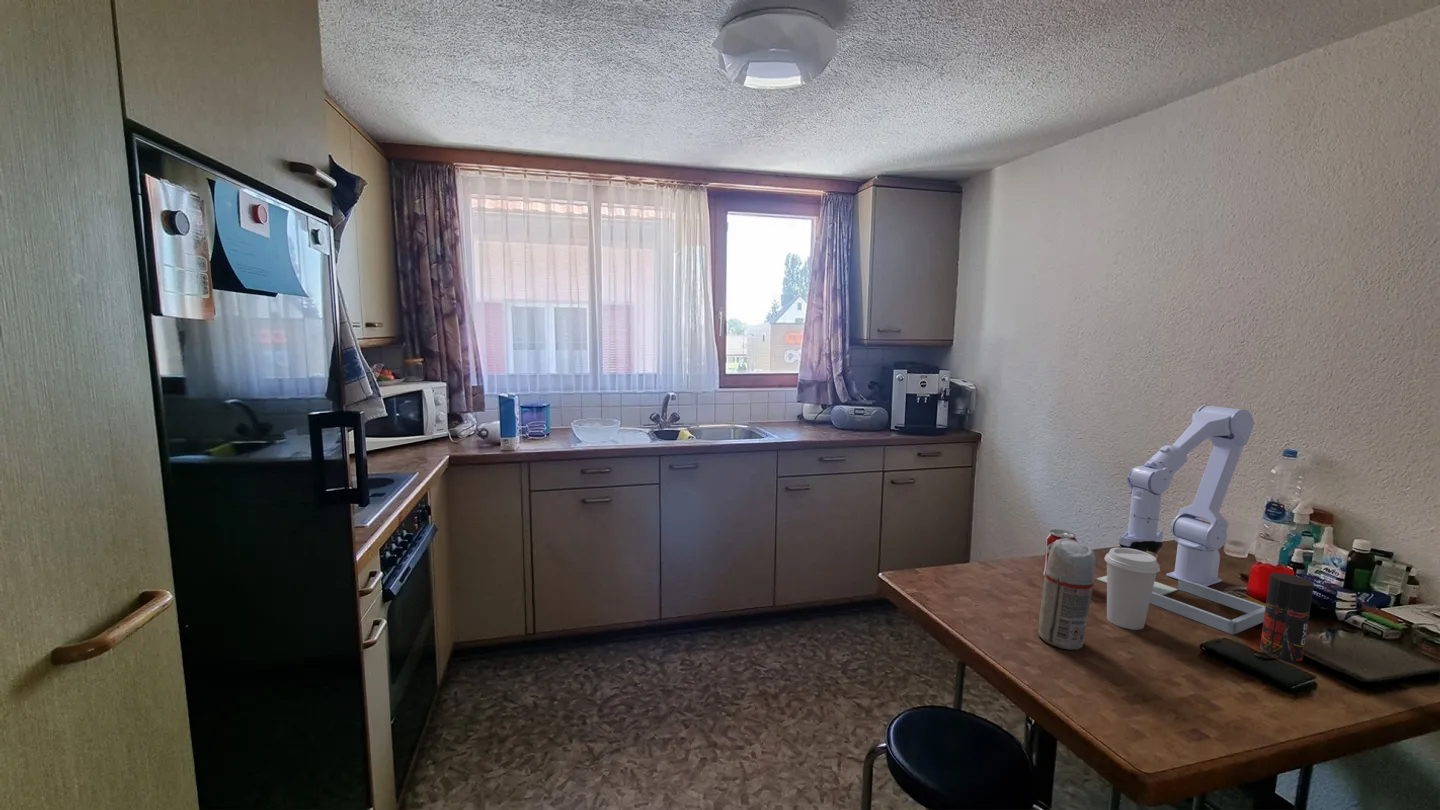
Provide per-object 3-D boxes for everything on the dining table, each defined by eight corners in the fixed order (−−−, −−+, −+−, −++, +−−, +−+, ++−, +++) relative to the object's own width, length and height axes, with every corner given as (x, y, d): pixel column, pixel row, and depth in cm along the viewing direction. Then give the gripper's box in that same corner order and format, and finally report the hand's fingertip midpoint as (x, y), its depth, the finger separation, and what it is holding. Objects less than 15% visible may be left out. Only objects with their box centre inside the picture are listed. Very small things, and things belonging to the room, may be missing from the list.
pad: (1124, 571, 150) (1124, 570, 150) (1177, 590, 139) (1177, 589, 139) (1096, 579, 144) (1096, 578, 144) (1149, 599, 134) (1149, 598, 134)
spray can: (1080, 634, 117) (1089, 539, 115) (1091, 655, 109) (1101, 553, 107) (1033, 626, 120) (1042, 533, 118) (1041, 646, 112) (1050, 547, 110)
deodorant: (1260, 641, 116) (1271, 570, 114) (1302, 653, 112) (1313, 579, 110) (1259, 652, 112) (1269, 578, 110) (1302, 665, 107) (1314, 588, 106)
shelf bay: (1179, 588, 140) (1180, 578, 140) (1269, 619, 125) (1271, 608, 125) (1142, 600, 133) (1143, 589, 133) (1232, 634, 118) (1234, 623, 118)
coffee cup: (1146, 617, 125) (1154, 550, 123) (1158, 637, 116) (1167, 566, 115) (1095, 607, 129) (1101, 543, 127) (1102, 627, 120) (1109, 557, 119)
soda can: (1065, 574, 147) (1070, 529, 146) (1079, 586, 140) (1084, 538, 139) (1038, 573, 148) (1042, 527, 146) (1050, 584, 141) (1054, 537, 140)
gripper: (1145, 524, 133) (1138, 581, 135) (1179, 517, 139) (1172, 571, 141) (1113, 515, 139) (1107, 569, 141) (1147, 509, 146) (1141, 560, 147)
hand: (1137, 569), depth 141 cm, fingers closed on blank, 4 cm apart
